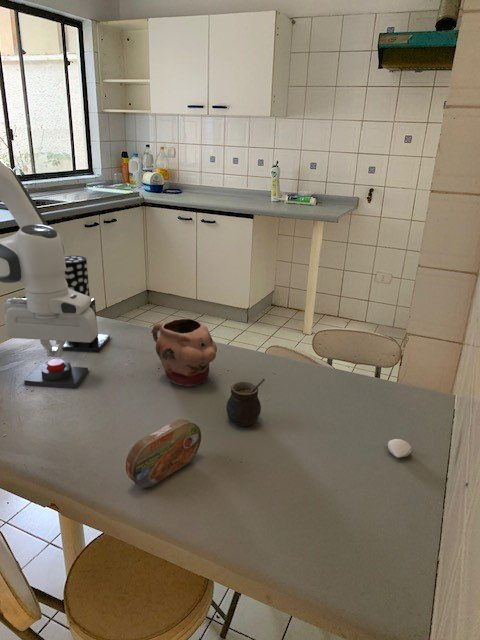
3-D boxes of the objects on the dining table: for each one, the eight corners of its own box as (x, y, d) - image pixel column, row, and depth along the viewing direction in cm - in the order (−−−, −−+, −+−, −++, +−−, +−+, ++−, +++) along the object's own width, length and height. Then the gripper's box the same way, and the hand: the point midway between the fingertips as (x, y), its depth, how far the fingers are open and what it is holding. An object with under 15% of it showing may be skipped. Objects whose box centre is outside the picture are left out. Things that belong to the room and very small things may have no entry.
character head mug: (134, 374, 113) (131, 321, 108) (166, 355, 123) (165, 307, 118) (200, 399, 104) (200, 343, 99) (229, 377, 114) (231, 325, 108)
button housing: (24, 385, 107) (22, 373, 105) (40, 368, 114) (39, 357, 113) (75, 388, 106) (74, 377, 105) (88, 371, 113) (87, 360, 112)
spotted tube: (97, 323, 141) (92, 259, 134) (72, 331, 135) (65, 264, 128) (82, 316, 146) (76, 254, 139) (58, 323, 140) (50, 258, 133)
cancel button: (45, 371, 107) (44, 365, 107) (52, 364, 111) (51, 358, 110) (60, 372, 107) (59, 366, 107) (66, 365, 111) (66, 359, 110)
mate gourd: (222, 412, 100) (224, 371, 96) (257, 409, 101) (259, 368, 97) (229, 432, 93) (230, 388, 89) (265, 428, 95) (268, 386, 91)
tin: (135, 497, 76) (132, 455, 73) (123, 487, 78) (121, 446, 74) (202, 455, 86) (202, 416, 83) (191, 447, 88) (191, 409, 85)
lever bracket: (99, 352, 123) (95, 307, 118) (62, 350, 124) (56, 305, 119) (109, 338, 132) (106, 296, 127) (75, 336, 132) (70, 294, 127)
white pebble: (410, 450, 90) (413, 440, 89) (408, 466, 85) (410, 455, 85) (388, 444, 91) (390, 433, 90) (384, 459, 87) (386, 448, 86)
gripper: (-6, 302, 100) (4, 359, 105) (87, 307, 99) (93, 364, 104) (9, 292, 106) (18, 347, 111) (97, 297, 105) (102, 352, 110)
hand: (55, 355), depth 108 cm, fingers closed
